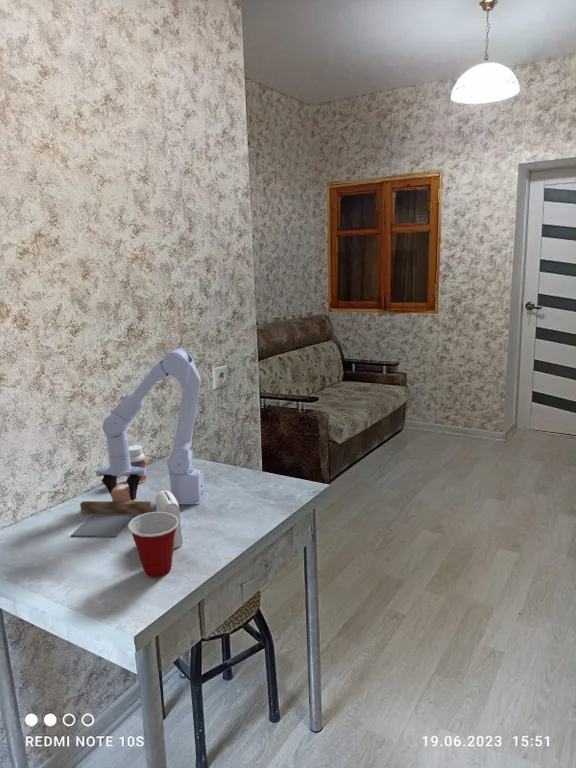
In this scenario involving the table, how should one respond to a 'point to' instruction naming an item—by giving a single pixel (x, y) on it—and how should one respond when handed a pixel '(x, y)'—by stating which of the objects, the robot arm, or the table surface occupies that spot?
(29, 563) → the table surface
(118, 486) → the marked cube
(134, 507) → the walnut board
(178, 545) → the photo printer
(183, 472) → the robot arm
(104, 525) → the slate mat
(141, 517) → the plastic cup
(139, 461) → the pill bottle
